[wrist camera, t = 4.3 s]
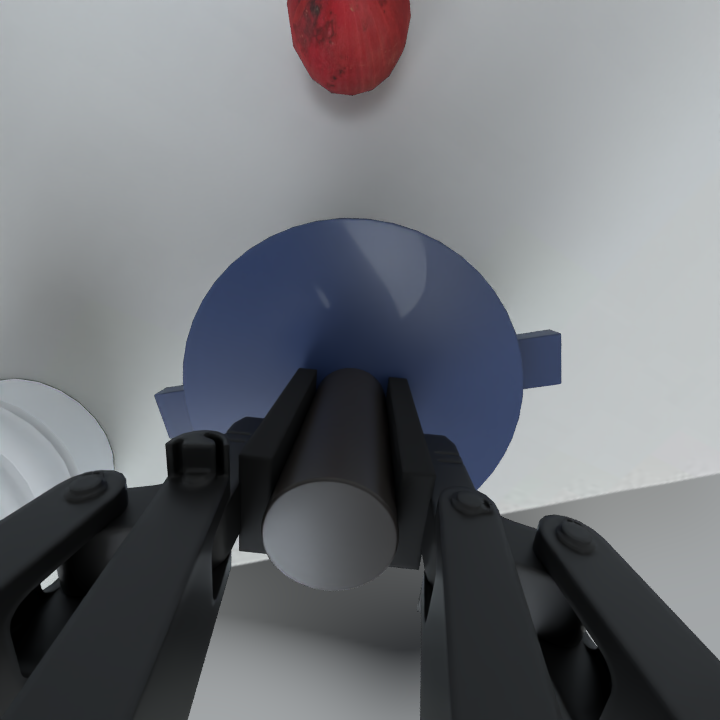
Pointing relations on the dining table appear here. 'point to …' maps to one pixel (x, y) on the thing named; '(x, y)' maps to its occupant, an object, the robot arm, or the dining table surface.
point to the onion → (349, 40)
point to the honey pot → (44, 442)
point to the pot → (537, 366)
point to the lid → (352, 378)
